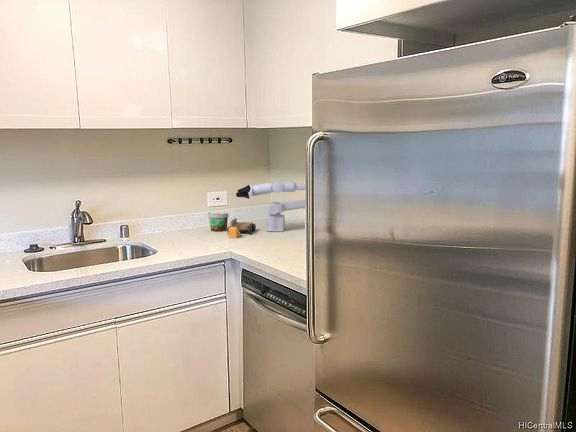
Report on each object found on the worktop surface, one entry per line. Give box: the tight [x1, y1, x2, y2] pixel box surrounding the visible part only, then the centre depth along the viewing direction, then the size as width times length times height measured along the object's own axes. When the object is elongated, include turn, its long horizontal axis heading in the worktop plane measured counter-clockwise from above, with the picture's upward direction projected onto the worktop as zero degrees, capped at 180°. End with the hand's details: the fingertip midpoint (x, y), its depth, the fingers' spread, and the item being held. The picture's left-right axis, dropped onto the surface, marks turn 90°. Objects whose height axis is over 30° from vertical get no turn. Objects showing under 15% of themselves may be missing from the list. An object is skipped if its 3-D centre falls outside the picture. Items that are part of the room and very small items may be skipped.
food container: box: [207, 212, 230, 233], centre depth 258 cm, size 12×6×10 cm, turn 73°
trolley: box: [227, 217, 257, 235], centre depth 254 cm, size 13×13×7 cm
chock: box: [228, 227, 241, 239], centre depth 243 cm, size 4×8×5 cm, turn 171°
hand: (237, 193), depth 256 cm, fingers open, 7 cm apart
